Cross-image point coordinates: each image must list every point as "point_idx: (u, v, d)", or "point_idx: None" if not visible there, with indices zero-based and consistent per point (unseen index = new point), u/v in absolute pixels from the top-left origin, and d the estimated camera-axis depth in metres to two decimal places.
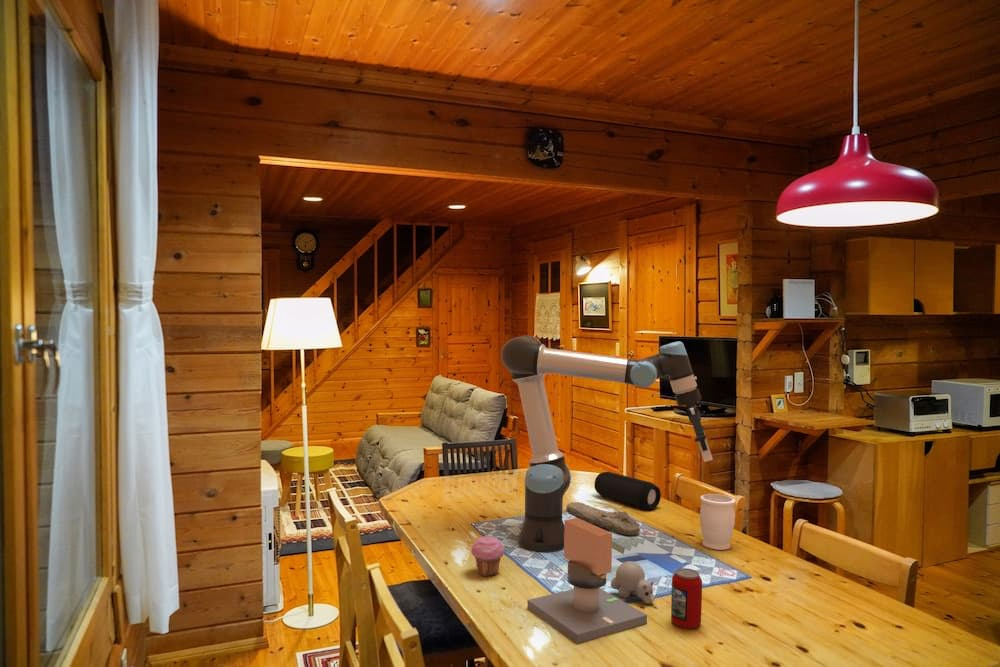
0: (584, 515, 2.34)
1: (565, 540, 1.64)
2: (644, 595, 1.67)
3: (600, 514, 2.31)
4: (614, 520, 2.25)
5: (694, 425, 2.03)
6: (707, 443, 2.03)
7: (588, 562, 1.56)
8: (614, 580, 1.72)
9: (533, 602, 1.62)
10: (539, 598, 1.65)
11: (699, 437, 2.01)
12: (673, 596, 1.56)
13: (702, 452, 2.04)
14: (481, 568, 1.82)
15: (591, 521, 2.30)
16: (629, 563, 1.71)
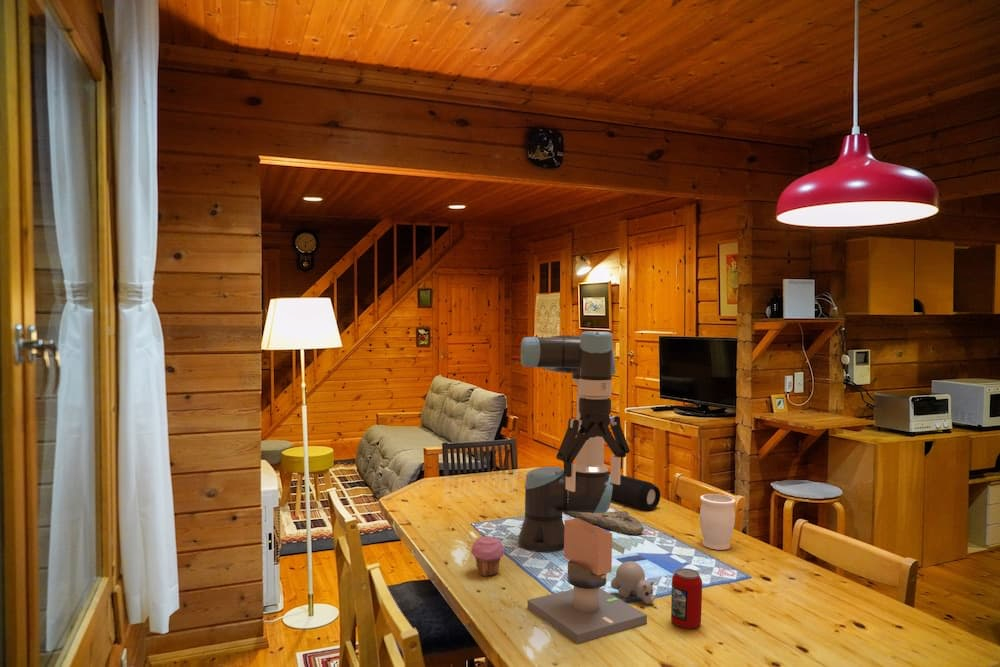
0: (584, 516, 2.33)
1: (565, 540, 1.64)
2: (644, 595, 1.67)
3: (601, 514, 2.31)
4: (616, 520, 2.26)
5: (563, 440, 1.55)
6: (572, 469, 1.55)
7: (588, 562, 1.56)
8: (614, 580, 1.72)
9: (533, 602, 1.62)
10: (539, 598, 1.65)
11: (558, 457, 1.54)
12: (673, 596, 1.56)
13: (566, 477, 1.56)
14: (481, 568, 1.82)
15: (592, 521, 2.30)
16: (629, 563, 1.71)
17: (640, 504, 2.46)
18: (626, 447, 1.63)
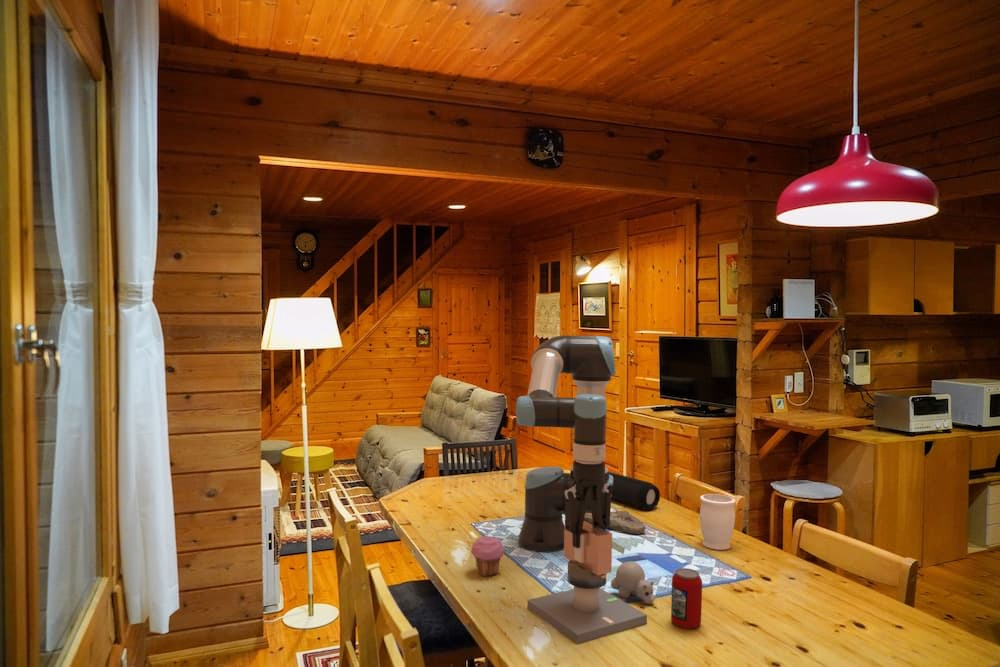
0: None
1: (565, 540, 1.64)
2: (644, 595, 1.67)
3: None
4: (617, 519, 2.26)
5: (566, 512, 1.57)
6: (581, 541, 1.57)
7: (588, 562, 1.56)
8: (614, 580, 1.72)
9: (533, 602, 1.62)
10: (539, 598, 1.65)
11: (567, 528, 1.57)
12: (673, 596, 1.56)
13: (575, 547, 1.59)
14: (481, 568, 1.82)
15: None
16: (629, 563, 1.71)
17: (640, 504, 2.46)
18: (608, 519, 1.61)
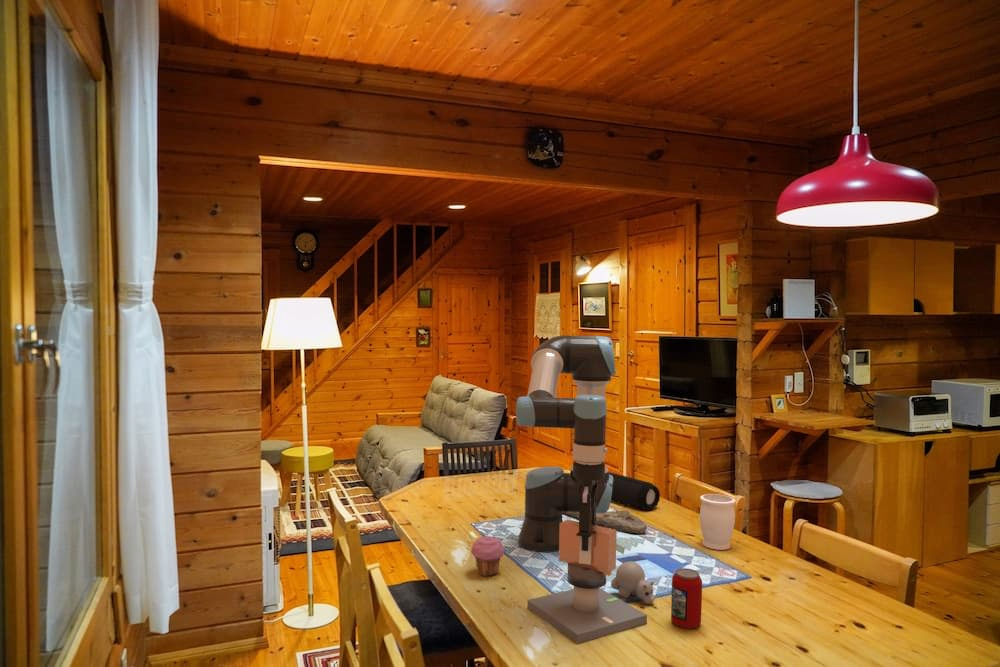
0: None
1: (561, 543, 1.62)
2: (644, 595, 1.67)
3: (601, 514, 2.31)
4: (618, 519, 2.26)
5: (581, 517, 1.54)
6: (590, 542, 1.56)
7: (594, 562, 1.56)
8: (614, 580, 1.72)
9: (533, 602, 1.62)
10: (539, 598, 1.65)
11: (582, 533, 1.54)
12: (673, 596, 1.56)
13: (581, 551, 1.57)
14: (481, 568, 1.82)
15: None
16: (629, 563, 1.71)
17: (639, 504, 2.46)
18: (595, 514, 1.65)
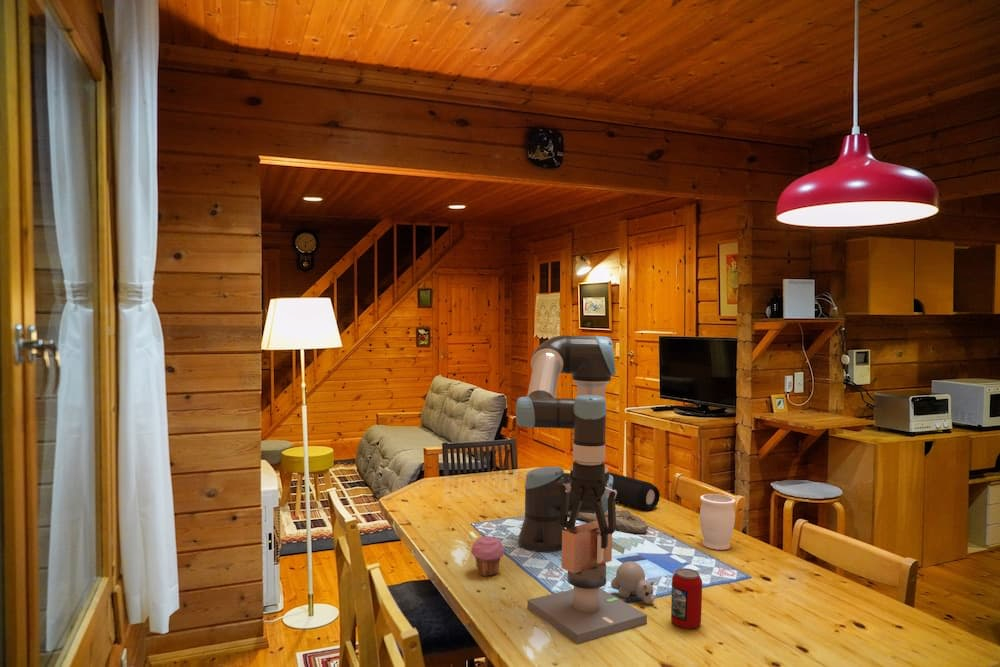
0: (585, 517, 2.32)
1: (575, 554, 1.54)
2: (644, 595, 1.67)
3: None
4: (619, 519, 2.26)
5: (613, 514, 1.56)
6: None
7: None
8: (614, 580, 1.72)
9: (533, 602, 1.62)
10: (539, 598, 1.65)
11: (614, 530, 1.56)
12: (673, 596, 1.56)
13: (600, 550, 1.57)
14: (481, 568, 1.82)
15: None
16: (629, 563, 1.71)
17: (639, 504, 2.46)
18: None
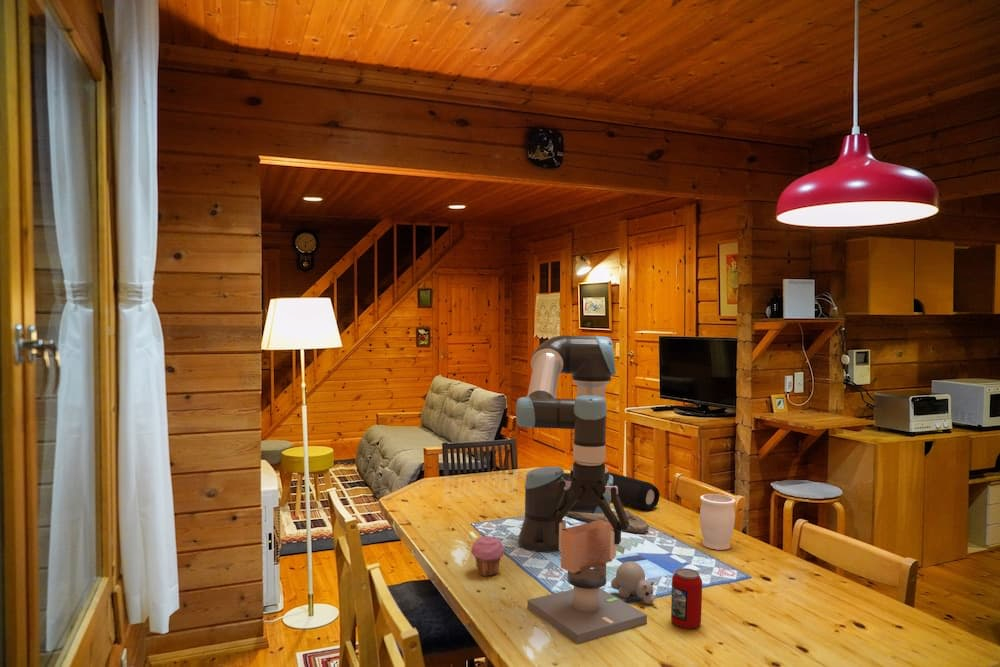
0: (585, 517, 2.32)
1: (574, 554, 1.55)
2: (644, 595, 1.67)
3: (602, 514, 2.31)
4: None
5: (621, 509, 1.55)
6: None
7: (602, 556, 1.60)
8: (614, 580, 1.72)
9: (533, 602, 1.62)
10: (539, 598, 1.65)
11: (627, 525, 1.55)
12: (673, 596, 1.56)
13: (614, 546, 1.56)
14: (481, 568, 1.82)
15: None
16: (629, 563, 1.71)
17: (639, 504, 2.46)
18: None
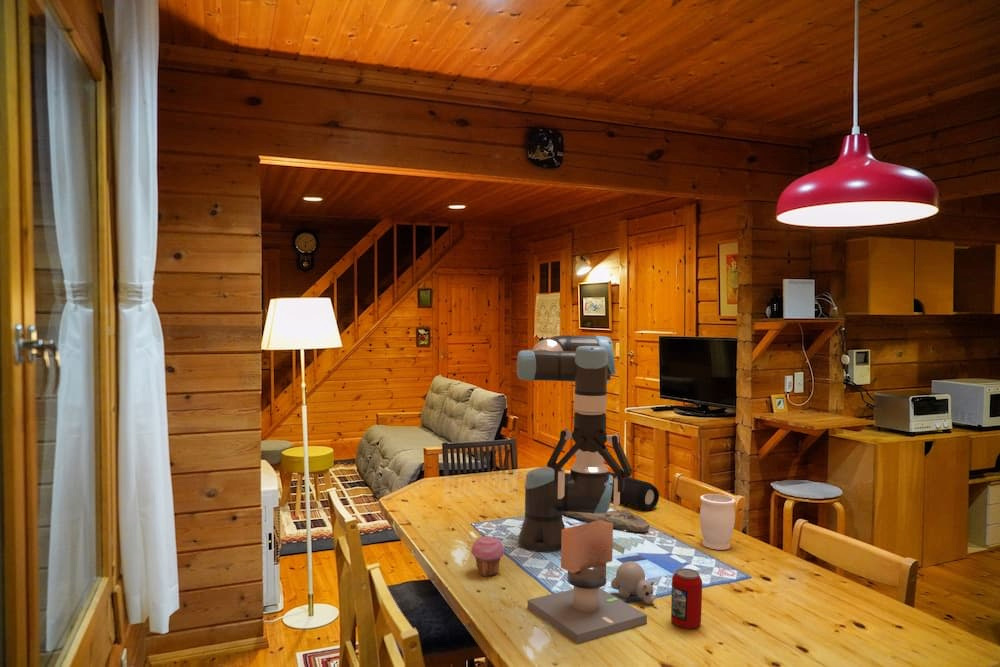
0: (585, 517, 2.32)
1: (574, 554, 1.55)
2: (644, 595, 1.67)
3: (602, 514, 2.31)
4: (620, 518, 2.27)
5: (623, 457, 1.55)
6: None
7: (602, 556, 1.60)
8: (614, 580, 1.72)
9: (533, 602, 1.62)
10: (539, 598, 1.65)
11: (630, 473, 1.55)
12: (673, 596, 1.56)
13: (617, 494, 1.56)
14: (481, 568, 1.82)
15: None
16: (629, 563, 1.71)
17: (638, 504, 2.45)
18: None
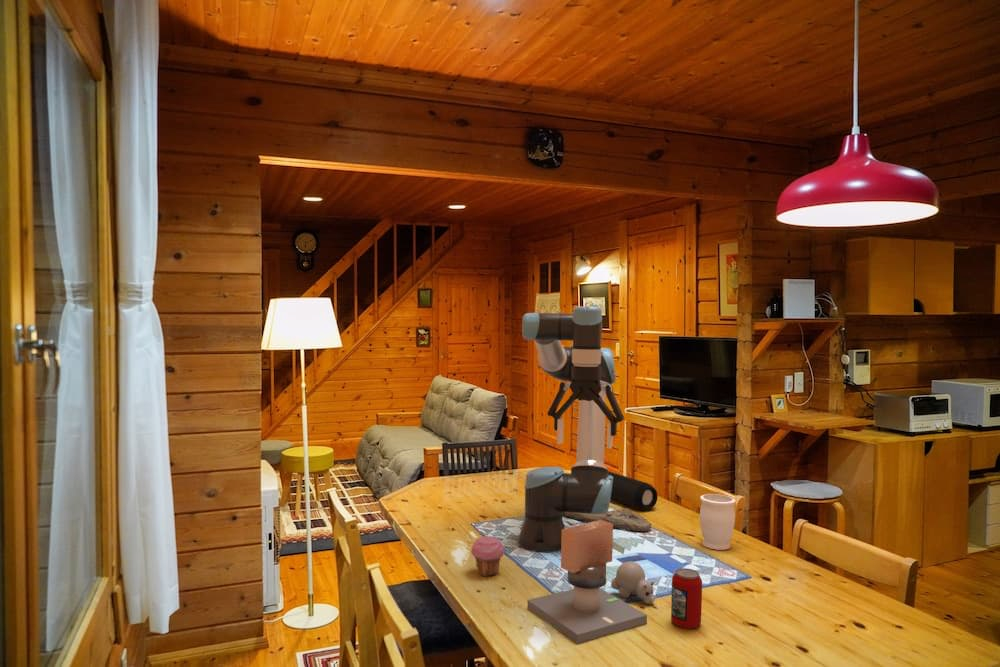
0: (586, 517, 2.32)
1: (574, 554, 1.55)
2: (644, 595, 1.67)
3: (603, 514, 2.31)
4: (622, 518, 2.27)
5: (615, 404, 1.74)
6: None
7: (602, 556, 1.60)
8: (614, 580, 1.72)
9: (533, 602, 1.62)
10: (539, 598, 1.65)
11: (622, 418, 1.74)
12: (673, 596, 1.56)
13: (610, 437, 1.75)
14: (481, 568, 1.82)
15: None
16: (629, 563, 1.71)
17: (636, 504, 2.45)
18: None
